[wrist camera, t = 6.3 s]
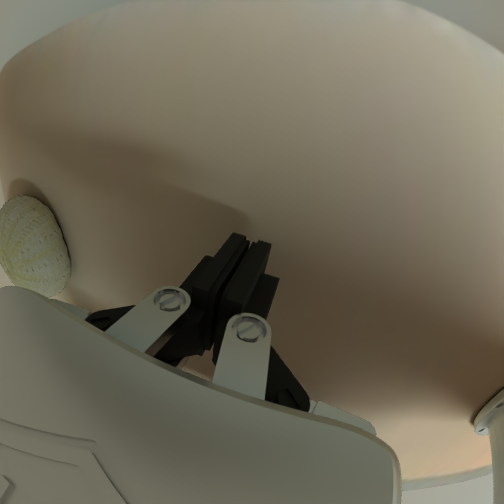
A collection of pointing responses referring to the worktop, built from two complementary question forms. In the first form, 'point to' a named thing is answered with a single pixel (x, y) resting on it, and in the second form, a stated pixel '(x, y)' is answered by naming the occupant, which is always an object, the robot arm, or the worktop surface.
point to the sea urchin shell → (33, 246)
